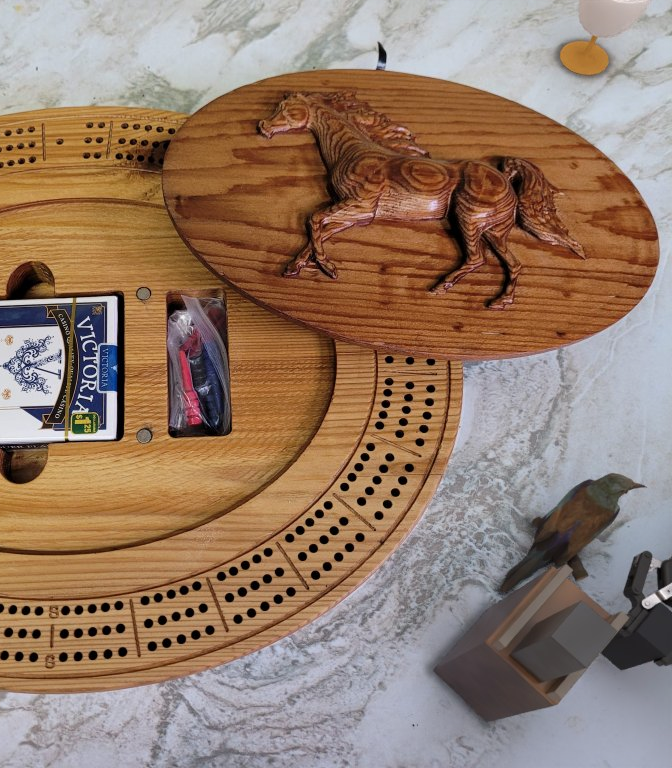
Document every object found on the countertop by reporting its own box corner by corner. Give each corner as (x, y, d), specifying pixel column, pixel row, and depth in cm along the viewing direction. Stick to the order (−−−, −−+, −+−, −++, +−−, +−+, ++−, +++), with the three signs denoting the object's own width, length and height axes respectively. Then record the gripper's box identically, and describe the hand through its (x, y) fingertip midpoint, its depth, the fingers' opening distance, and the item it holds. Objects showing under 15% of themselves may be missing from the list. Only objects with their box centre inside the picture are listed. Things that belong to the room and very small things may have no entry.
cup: (546, 71, 158) (583, -6, 143) (558, 31, 163) (595, -48, 147) (610, 86, 156) (654, 10, 140) (620, 45, 160) (664, -34, 145)
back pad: (642, 643, 108) (690, 626, 97) (620, 671, 106) (666, 656, 96) (616, 621, 109) (660, 601, 98) (593, 647, 108) (636, 631, 97)
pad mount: (619, 627, 91) (680, 602, 79) (553, 706, 87) (606, 693, 76) (550, 567, 94) (599, 536, 82) (484, 642, 91) (525, 620, 79)
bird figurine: (532, 625, 112) (638, 543, 100) (476, 569, 116) (572, 482, 104) (568, 585, 121) (671, 505, 108) (516, 534, 125) (609, 451, 112)
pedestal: (542, 657, 111) (619, 627, 91) (486, 722, 108) (553, 706, 87) (488, 608, 114) (550, 567, 94) (432, 669, 111) (484, 642, 91)
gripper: (684, 502, 102) (603, 598, 97) (794, 586, 97) (714, 691, 92) (655, 520, 109) (577, 611, 104) (756, 599, 103) (679, 698, 99)
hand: (642, 648), depth 98 cm, fingers closed on back pad, 4 cm apart
